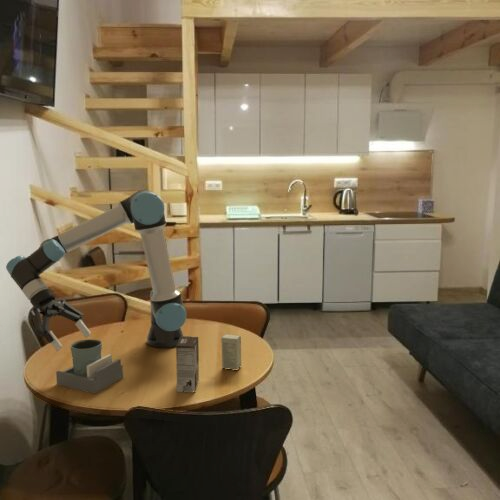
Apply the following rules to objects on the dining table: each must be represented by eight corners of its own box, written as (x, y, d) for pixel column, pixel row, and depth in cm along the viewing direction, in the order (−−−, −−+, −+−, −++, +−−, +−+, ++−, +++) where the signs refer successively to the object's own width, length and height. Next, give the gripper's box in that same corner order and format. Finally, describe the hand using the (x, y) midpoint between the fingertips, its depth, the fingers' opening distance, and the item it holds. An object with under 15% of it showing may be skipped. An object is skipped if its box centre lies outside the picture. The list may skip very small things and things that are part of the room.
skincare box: (241, 367, 179) (241, 335, 177) (237, 371, 175) (237, 339, 172) (225, 364, 181) (225, 333, 179) (221, 369, 177) (221, 337, 175)
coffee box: (180, 380, 167) (180, 335, 164) (199, 380, 167) (199, 336, 164) (176, 392, 158) (175, 345, 155) (195, 392, 158) (195, 345, 155)
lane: (56, 384, 163) (55, 364, 161) (86, 369, 175) (85, 350, 174) (95, 393, 156) (94, 373, 155) (123, 377, 169) (122, 358, 168)
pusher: (86, 385, 159) (85, 365, 158) (109, 372, 169) (108, 354, 168) (89, 386, 158) (88, 366, 157) (112, 373, 169) (111, 354, 167)
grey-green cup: (73, 385, 159) (71, 350, 158) (71, 374, 169) (69, 341, 167) (105, 380, 163) (103, 346, 162) (101, 369, 173) (100, 337, 171)
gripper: (60, 292, 181) (94, 336, 178) (3, 310, 159) (40, 361, 155) (70, 280, 178) (104, 324, 175) (14, 296, 156) (52, 347, 152)
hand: (74, 342), depth 165 cm, fingers open, 13 cm apart
